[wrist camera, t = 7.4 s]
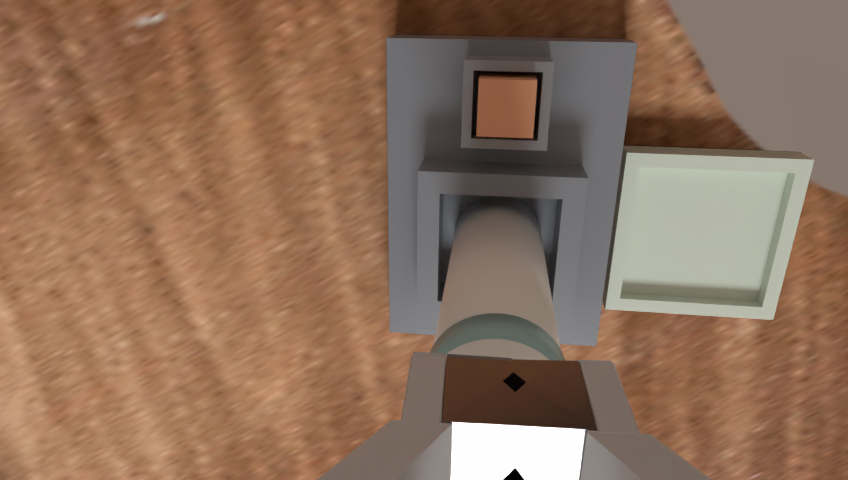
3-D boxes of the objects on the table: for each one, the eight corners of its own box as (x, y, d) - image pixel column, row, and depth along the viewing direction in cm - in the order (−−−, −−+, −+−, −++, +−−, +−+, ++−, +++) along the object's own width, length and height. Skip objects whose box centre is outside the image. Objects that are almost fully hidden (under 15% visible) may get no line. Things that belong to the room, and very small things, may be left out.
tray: (600, 296, 40) (605, 309, 38) (621, 145, 36) (627, 152, 34) (761, 305, 39) (773, 319, 37) (799, 151, 35) (814, 159, 33)
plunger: (478, 124, 33) (476, 136, 30) (480, 71, 32) (478, 79, 29) (530, 126, 33) (533, 138, 30) (534, 73, 32) (537, 80, 29)
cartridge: (435, 237, 36) (386, 421, 21) (495, 175, 34) (491, 326, 19) (499, 291, 37) (498, 508, 22) (561, 234, 35) (609, 424, 20)
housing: (397, 309, 42) (382, 352, 37) (395, 34, 35) (377, 41, 30) (589, 322, 41) (602, 368, 35) (626, 38, 34) (648, 46, 29)
